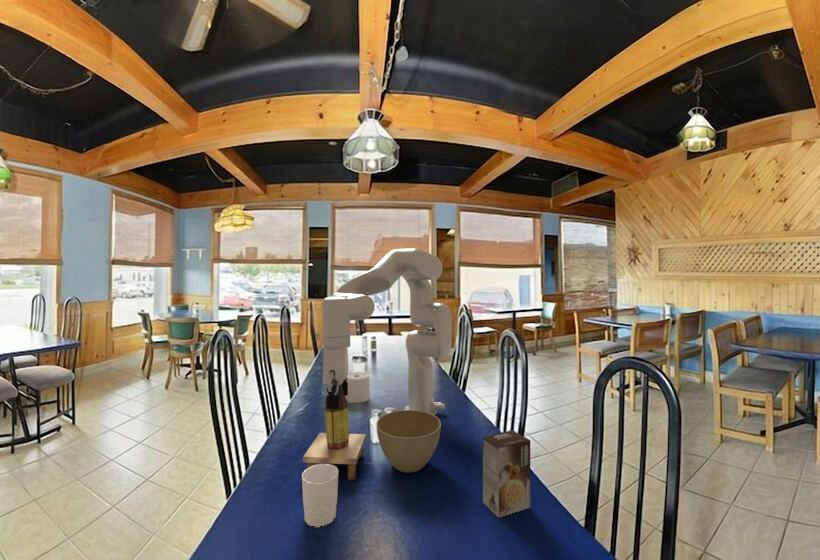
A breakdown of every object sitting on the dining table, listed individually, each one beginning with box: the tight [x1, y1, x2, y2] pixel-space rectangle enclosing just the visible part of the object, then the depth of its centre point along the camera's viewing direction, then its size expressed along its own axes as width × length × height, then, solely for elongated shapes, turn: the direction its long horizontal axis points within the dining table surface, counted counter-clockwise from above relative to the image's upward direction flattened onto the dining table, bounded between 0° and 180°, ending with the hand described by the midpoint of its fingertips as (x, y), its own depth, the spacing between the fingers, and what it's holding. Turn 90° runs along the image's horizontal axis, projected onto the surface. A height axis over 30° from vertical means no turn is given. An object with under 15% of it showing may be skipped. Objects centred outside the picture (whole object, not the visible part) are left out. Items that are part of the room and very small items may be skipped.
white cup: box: [301, 463, 339, 528], centre depth 81 cm, size 8×8×10 cm
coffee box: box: [482, 429, 531, 519], centre depth 85 cm, size 9×6×16 cm
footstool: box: [302, 432, 367, 481], centre depth 102 cm, size 14×14×6 cm
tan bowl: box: [375, 409, 442, 474], centre depth 103 cm, size 18×18×12 cm
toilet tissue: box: [345, 371, 370, 404], centre depth 155 cm, size 11×12×10 cm
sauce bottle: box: [324, 382, 350, 449], centre depth 102 cm, size 6×6×20 cm
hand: (338, 401), depth 102 cm, fingers open, 9 cm apart
